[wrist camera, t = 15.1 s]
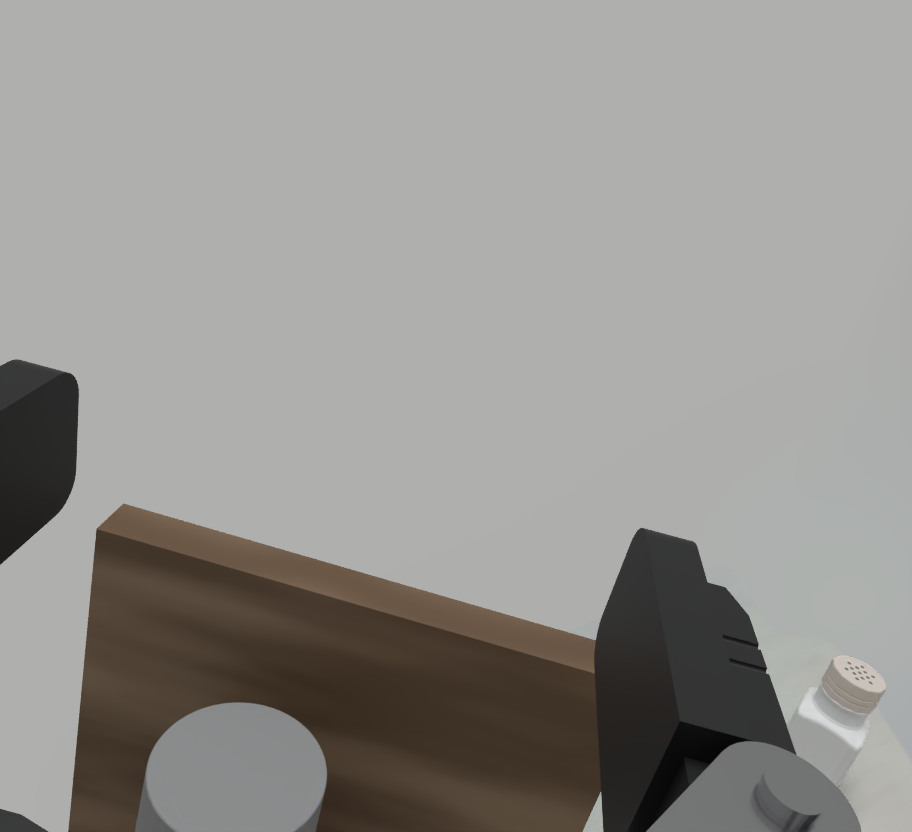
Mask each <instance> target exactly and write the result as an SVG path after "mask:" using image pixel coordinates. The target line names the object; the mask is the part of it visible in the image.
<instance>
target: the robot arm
mask: <svg viewBox="0 0 912 832" xmlns="http://www.w3.org/2000/svg"><path fill="white" fill-rule="evenodd" d="M78 399H79V389H78V384H77V381H76V379H75V377H74V376H73V375H72V374H70V373H67V372H63V371H59V370H56V369H52V368H48V367H44V366H40V365H37V364H33V363H29V362H26V361H22V360H12V361H9V362H7V363H6V364H3V365H1V366H0V564H2V563H3V561H5V560H6V559H7V558H8V557H9V556H11V555H12V554H13V553H14V552H15V551H16V550H17V549H19V548H20V547H21V546H22V545H23V544H24V543H25V542H26V541H28V540H29V539H30V538H31V537H32V536H33V535H34V534H35V533H37V532H38V531H39V530H40V529H41V528H42V527H43V526H44V525H45V524H47V523H48V522H49V521H50V520H51V519H52V518H53V517H55V516H56V515H57V513H59V511H60V510H61V509H62V508H63V506H64V505H65V503H66V501H67V499H68V497H69V495H70V493H71V490H72V488H73V484H74V481H75V475H76V457H77V429H78V428H77V427H78ZM758 645H759V644H758V641H757V638H756V635H755V632H754V629H753V626H752V623H751V621H750V618H749V615H748V614H747V613H746V612H745V611H744V609H743V608H742V607H741V606H740V605H739V603H738V602H737V601H736V600H735V598H734V597H733V596H732V595H731V594H730V592H729V591H728V590H727V589H726V588H725V587H722V586H718V585H714V584H711V583H707V579H706V576H705V572H704V569H703V566H702V562H701V558H700V555H699V552H698V548H697V545H696V544H695V543H694V542H693V541H689V540H685V539H681V538H678V537H674V536H670V535H666V534H663V533H659V532H655V531H652V530H648V529H644V528H640V529H639V530H638V531H637V532H636V534H635V535H634V537H633V539H632V542H631V544H630V546H629V549H628V552H627V554H626V557H625V559H624V562H623V564H622V567H621V569H620V572H619V575H618V577H617V580H616V582H615V585H614V587H613V590H612V592H611V595H610V597H609V600H608V602H607V605H606V608H605V610H604V613H603V615H602V618H601V621H600V625H599V629H598V633H597V638H596V643H595V651H594V670H595V688H596V706H597V723H598V741H599V759H600V777H601V795H602V813H603V830H604V832H861V827H860V824H859V821H858V818H857V816H856V814H855V812H854V810H853V808H852V806H851V805H850V803H849V802H848V800H847V799H846V798H845V796H844V795H843V794H842V792H841V791H840V790H839V789H838V788H837V787H836V785H835V784H834V783H833V782H832V781H831V780H830V779H828V778H827V777H826V776H825V775H824V774H823V773H822V772H821V771H819V770H818V769H817V768H816V767H814V766H813V765H811V764H810V763H808V762H807V761H805V760H804V759H802V758H801V757H799V756H797V755H796V752H795V749H794V746H793V743H792V740H791V737H790V734H789V731H788V728H787V725H786V723H785V720H784V717H783V714H782V711H781V708H780V705H779V702H778V699H777V696H776V693H775V690H774V688H773V685H772V682H771V679H770V676H769V674H766V669H767V667H766V664H765V661H764V658H763V655H762V653H761V650H758ZM0 832H48V831H46V830H45V829H43V828H42V827H40V826H38V825H37V824H35V823H33V822H32V821H30V820H29V819H27V818H25V817H24V816H22V815H20V814H17V813H13V812H9V811H6V810H2V809H0Z"/></svg>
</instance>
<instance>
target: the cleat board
mask: <svg viewBox="0 0 912 832" xmlns="http://www.w3.org/2000/svg"><path fill="white" fill-rule="evenodd" d="M595 643H596V640H592V639H589V638H585V637H582V636H578V635H575V634H571V633H568V632H565V631H561V630H558V629H554V628H551V627H547V626H544V625H540V624H537V623H533V622H530V621H527V620H523V619H520V618H516V617H513V616H509V615H506V614H502V613H499V612H495V611H492V610H489V609H485V608H482V607H478V606H475V605H471V604H468V603H464V602H461V601H458V600H454V599H450V598H447V597H444V596H440V595H437V594H433V593H429V592H427V591H423V590H419V589H416V588H413V587H409V586H405V585H402V584H399V583H395V582H392V581H388V580H385V579H382V578H378V577H375V576H371V575H368V574H364V573H361V572H357V571H354V570H350V569H347V568H344V567H340V566H337V565H333V564H330V563H326V562H323V561H319V560H316V559H313V558H309V557H306V556H302V555H299V554H295V553H292V552H288V551H285V550H282V549H278V548H275V547H271V546H268V545H264V544H261V543H257V542H254V541H251V540H247V539H243V538H240V537H237V536H233V535H230V534H226V533H223V532H219V531H216V530H212V529H209V528H205V527H202V526H199V525H195V524H192V523H188V522H184V521H182V520H178V519H175V518H171V517H168V516H164V515H161V514H157V513H154V512H150V511H147V510H143V509H140V508H136V507H133V506H130V505H126V504H123V505H122V506H120V508H118V509H117V510H116V511H115V512H114V513H113V514H112V515H111V516H110V517H109V518H108V519H107V520H106V521H105V522H104V523H103V524H101V525H100V527H98V528H97V531H96V542H95V553H94V563H93V574H92V585H91V595H90V606H89V617H88V628H87V639H86V649H85V660H84V670H83V681H82V692H81V703H80V714H79V725H78V735H77V746H76V757H75V768H74V778H73V789H72V799H71V810H70V821H69V831H68V832H135V828H136V823H137V817H138V812H139V806H140V801H141V795H142V790H143V784H144V779H145V773H146V768H147V763H148V760H149V757H150V754H151V752H152V750H153V748H154V746H155V744H156V743H157V741H158V740H159V739H160V737H161V736H162V735H163V734H164V733H165V732H166V731H167V730H168V729H169V728H170V727H171V726H172V725H173V724H175V723H176V722H177V721H179V720H180V719H182V718H183V717H185V716H187V715H188V714H191V713H193V712H195V711H197V710H200V709H203V708H206V707H209V706H213V705H218V704H224V703H236V702H240V703H253V704H259V705H264V706H267V707H271V708H274V709H276V710H279V711H282V712H284V713H286V714H287V715H289V716H291V717H293V718H294V719H296V720H297V721H299V722H300V723H301V724H302V725H303V726H305V727H306V728H307V729H308V730H309V732H310V733H311V734H312V735H313V736H314V738H315V739H316V741H317V742H318V744H319V746H320V748H321V750H322V752H323V755H324V757H325V761H326V767H327V783H326V789H325V793H324V797H323V802H322V806H321V810H320V815H319V819H318V823H317V827H316V832H582V831H583V829H584V827H585V825H586V822H587V820H588V818H589V816H590V814H591V811H592V809H593V807H594V805H595V803H596V801H597V798H598V796H599V794H600V792H601V777H600V759H599V741H598V723H597V706H596V688H595V670H594V651H595Z"/></svg>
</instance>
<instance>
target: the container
mask: <svg viewBox="0 0 912 832" xmlns="http://www.w3.org/2000/svg"><path fill="white" fill-rule="evenodd" d="M326 783H327V767H326V761H325V757H324V755H323V752H322V750H321V748H320V746H319V744H318V742H317V741H316V739H315V738H314V736H313V735H312V734H311V733H310V732H309V730H308V729H307V728H306V727H305V726H303V725H302V724H301V723H300V722H299V721H297V720H296V719H294V718H293V717H291V716H289V715H287V714H286V713H284V712H282V711H279V710H276V709H274V708H271V707H267V706H264V705H259V704H253V703H240V702H236V703H224V704H218V705H213V706H209V707H206V708H203V709H200V710H197V711H195V712H193V713H191V714H188V715H187V716H185V717H183V718H182V719H180V720H179V721H177V722H176V723H175V724H173V725H172V726H171V727H170V728H169V729H168V730H167V731H166V732H165V733H164V734H163V735H162V736H161V737H160V739H159V740H158V741H157V743H156V744H155V746H154V748H153V750H152V752H151V754H150V757H149V760H148V763H147V768H146V773H145V779H144V784H143V790H142V795H141V801H140V806H139V812H138V817H137V823H136V828H135V832H316V827H317V823H318V819H319V815H320V810H321V806H322V802H323V797H324V793H325V789H326Z"/></svg>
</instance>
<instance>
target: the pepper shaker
mask: <svg viewBox="0 0 912 832" xmlns="http://www.w3.org/2000/svg"><path fill="white" fill-rule="evenodd" d="M885 691H886V685H885V680H884V679H883V678H882V677H881V676H880V674H879V673H878V672H877V671H876V670H874V669H873V668H872V667H870V666H869V665H867V664H866V663H865V662H862V661H860V660H858V659H856V658H853V657H850V656H843V655H839V656H837V657H835V658H834V659H833V660H832V661H831V663H830V665H829V667H828V669H827V670H826V672H825V674H824V676H823V677H822V679H821V682H820V686H819V688H814V687H809V688H808V689H807V691H806V693H805V694H804V696H803V698H802V700H801V702H800V703H799V705H798V707H797V709H796V711H795V712H794V714H793V716H792V718H791V719H790V721H789V723H788V725H787V728H788V731H789V734H790V737H791V740H792V743H793V746H794V749H795V752H796V755H797V756H799V757H801V758H802V759H804V760H805V761H807V762H808V763H810V764H811V765H813V766H814V767H816V768H817V769H818V770H819V771H821V772H822V773H823V774H824V775H825V776H826V777H827V778H828V779H830V780H831V781H832V782H833V783H834V784H835V785H836V787H837V788H838V786H839V784H840V783H841V781H842V780H843V778H844V776H845V775H846V773H847V772H848V770H849V768H850V767H851V765H852V763H853V762H854V760H855V759H856V757H857V755H858V754H859V752H860V751H861V749H862V747H863V745H864V742H865V740H866V737H867V735H868V732H869V729H870V722H869V721H868V720H867V716H868V715H869V714H871V713H872V712H873V710H874V709H875V707H876V705H877V703H878V702H879V701H880V698H881V697H882V696H883V694H884V692H885Z"/></svg>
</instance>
